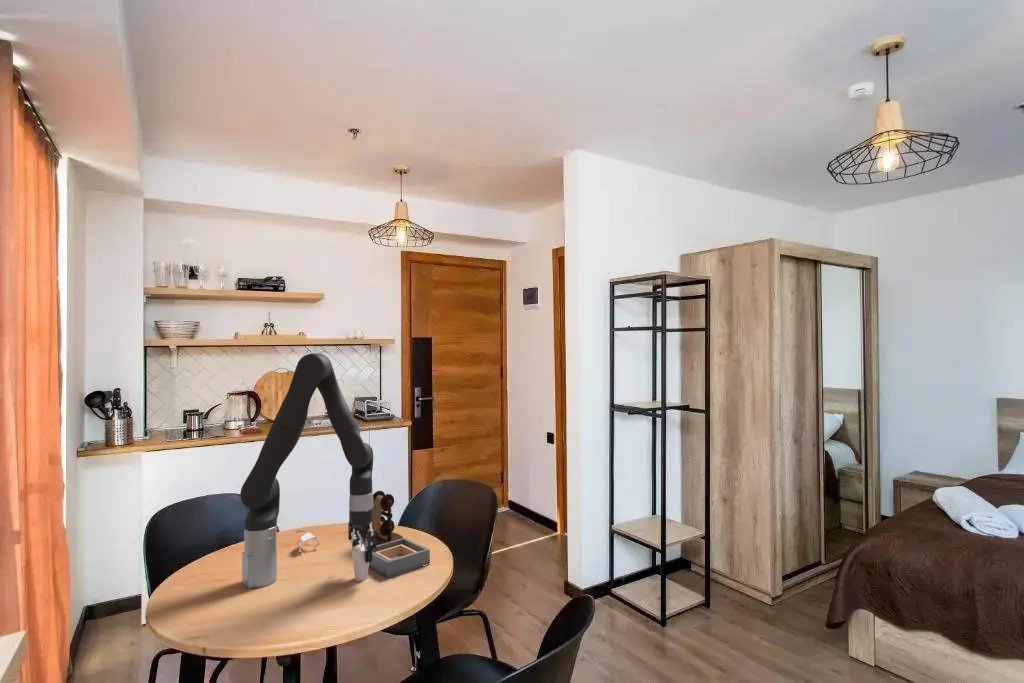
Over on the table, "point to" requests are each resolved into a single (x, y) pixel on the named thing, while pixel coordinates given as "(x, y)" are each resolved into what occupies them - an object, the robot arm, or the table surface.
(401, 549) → the socket box
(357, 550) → the smoothie
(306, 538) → the origami figure
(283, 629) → the table surface
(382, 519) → the scroll
